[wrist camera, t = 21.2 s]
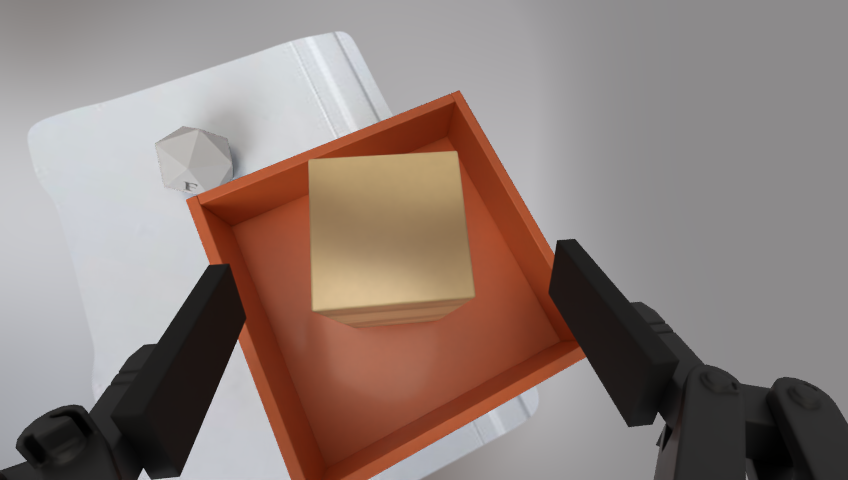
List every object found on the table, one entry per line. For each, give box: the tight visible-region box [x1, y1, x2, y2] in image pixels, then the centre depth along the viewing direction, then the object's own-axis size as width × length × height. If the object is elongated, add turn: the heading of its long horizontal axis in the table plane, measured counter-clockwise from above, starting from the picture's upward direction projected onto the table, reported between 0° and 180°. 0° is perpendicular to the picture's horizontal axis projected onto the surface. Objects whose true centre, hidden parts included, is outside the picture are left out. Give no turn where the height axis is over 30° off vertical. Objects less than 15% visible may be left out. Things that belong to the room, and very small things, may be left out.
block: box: [308, 151, 476, 328], centre depth 18 cm, size 5×5×12 cm
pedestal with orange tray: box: [186, 91, 586, 480], centre depth 36 cm, size 16×16×33 cm
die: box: [155, 126, 233, 195], centre depth 51 cm, size 8×9×10 cm
